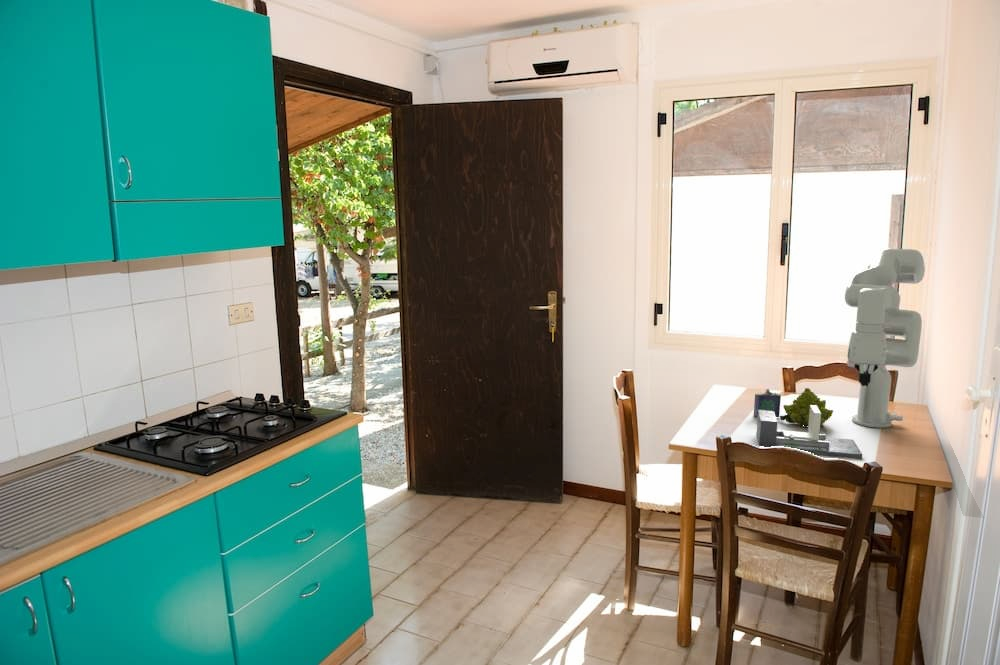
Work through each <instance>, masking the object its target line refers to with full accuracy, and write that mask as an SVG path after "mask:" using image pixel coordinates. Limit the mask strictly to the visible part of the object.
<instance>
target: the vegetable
mask: <svg viewBox="0 0 1000 665" xmlns="http://www.w3.org/2000/svg"><path fill="white" fill-rule="evenodd" d="M826 401H827V400H825V399H824V400H821V398H820V397H818V395H816V393H814V391H811V389H810V388H808V387H805V388H804V391H803V392H801V394H799V395H798V397H796V399H793V400H792V403H791V404H789V405H788V404H784V405H783V406H782V407H783V409H784V411H785V414H784V415H779V418H780V420H781V421H783V422H784V421H786V422H787V423H789V424H795V423H797V424H796V425H797V426H798V427H799V426H800V427H799V428H801V426H803V425H804V426H808V424H809V412H810V405H817V407H818V409H819V410H820V412H821V421H820V430H821V429H822V428H823V427H824V425H823V424H825V423H826V422H827V421H829V419H831V417H832V416H833V415H832V414H833V413H834V410H833V409H828V408H826V403H827V402H826Z"/></svg>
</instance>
